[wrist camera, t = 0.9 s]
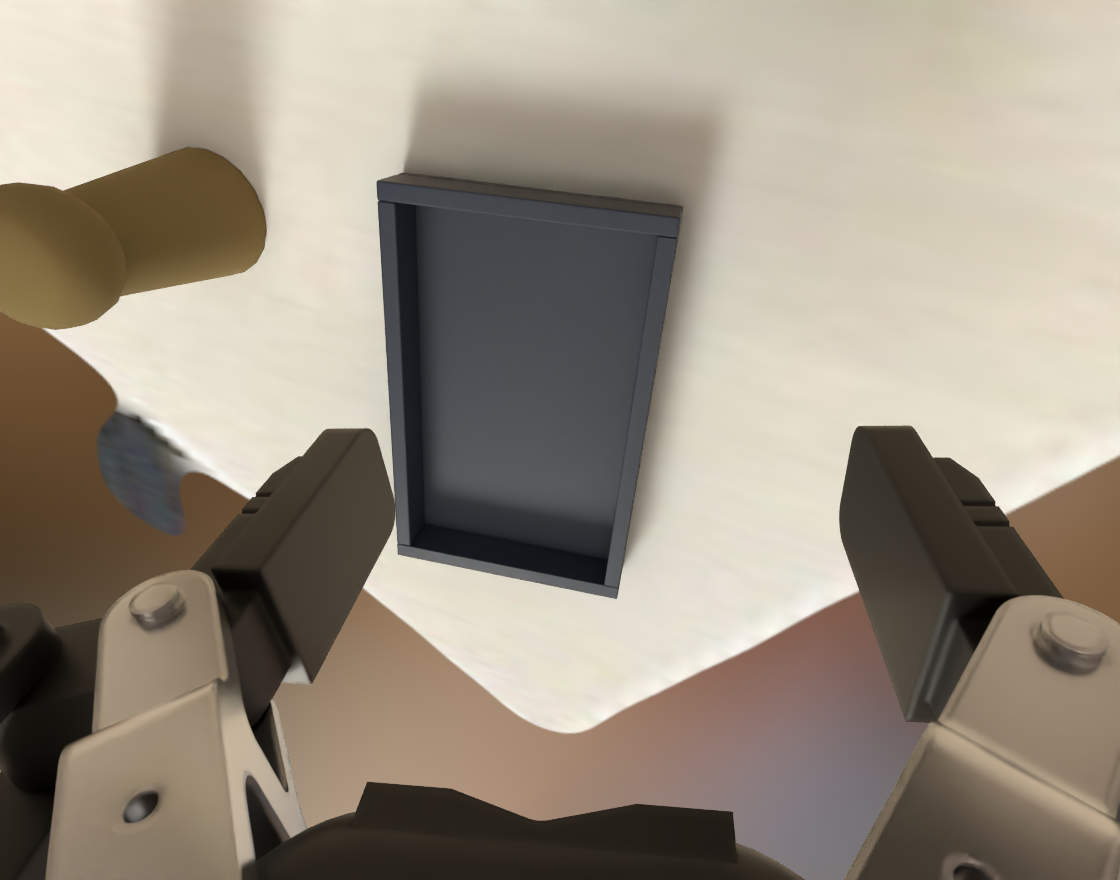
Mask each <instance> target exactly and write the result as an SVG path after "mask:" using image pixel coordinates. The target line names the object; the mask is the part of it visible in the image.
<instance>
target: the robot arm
mask: <svg viewBox="0 0 1120 880" xmlns="http://www.w3.org/2000/svg"><path fill="white" fill-rule="evenodd" d="M394 520H395V502H394V497H393V493H392V490H391V486H390V482H389V479H388V475H387V472H386V468H385V465H384V461H383V458H382V454H381V450H380V447H379V443H378V440H377V437H376V435H375V434H374V432H373V431H372V430H370V429H367V428H366V429H326V430H325V431H323V432H322V433H321V435H320V436H319V437H318V438H317V439H316V441H315V442H314V443H313V444H312V445H311V447H310V448H309V449H308V450H307V452H306V453H305V454H304V455H303V456H298V457H297V458H295V459H294V460H292V461H291V462H289V463H288V464H286V465H285V466H283V467H282V468H280V469H279V470H277V471H276V472H274V473H273V474H272V475H271V476H270V477H269V479H268V480H267V481H266V482H265V483H264V484H263V486H262V487H261V488H260V489H259V490H258V491H257V493H256V497H252V498H251V499H250V501H249V502H248V503H247V504H246V505H245V507H244V508H243V509H242V514H238V515H237V516H236V517H235V518H234V519H233V520H232V522H231V523H230V524H229V525H228V526H227V528H226V529H225V530H224V531H223V532H222V533H221V534H220V536H219V537H218V538H217V539H216V540H215V541H214V543H213V544H212V545H211V546H210V547H209V549H208V550H207V551H206V552H205V553H204V554H203V555H202V557H201V558H200V559H199V560H198V561H197V562H196V564H195V565H194V566H193V567H192V568H191V570H181V571H174V572H170V573H166V574H163V575H159V576H157V577H154V578H152V579H150V580H147V581H145V582H143V583H142V584H139V585H138V586H136V587H134V588H133V589H131V590H130V591H128V592H127V593H126V594H124V595H123V596H122V597H120V598H119V599H118V600H117V601H116V602H115V603H114V604H113V605H112V606H111V607H110V608H109V610H108V611H107V612H106V614H105V615H104V617H103V618H100V619H96V620H90V621H86V622H81V623H76V624H72V625H67V626H63V627H57V628H53V627H52V625H51V624H50V623H49V622H48V620H47V619H46V617H45V616H44V614H43V613H42V612H41V610H40V609H39V608H38V607H37V606H35V605H33V604H29V603H11V604H5V605H1V606H0V770H1V773H0V880H804V879H803V878H802V877H800V876H799V875H797V874H795V873H794V872H793V871H791V870H790V869H788V868H787V867H785V866H783V865H782V864H780V863H779V862H777V861H775V860H773V859H771V858H769V857H767V856H765V855H763V854H762V853H760V852H758V851H756V850H754V849H751V848H748V847H746V846H743V845H740V844H738V843H736V842H735V831H734V821H733V812H729V811H716V810H703V809H692V808H680V807H668V806H655V805H643V804H634V805H629V806H623V807H618V808H613V809H607V810H602V811H596V812H591V813H585V814H580V815H575V816H569V817H564V818H558V819H553V820H547V821H536V820H532V819H528V818H526V817H523V816H520V815H518V814H515V813H513V812H510V811H507V810H505V809H502V808H500V807H497V806H495V805H492V804H489V803H487V802H484V801H482V800H479V799H476V798H474V797H471V796H469V795H466V794H464V793H461V792H458V791H456V790H453V789H448V788H436V787H424V786H411V785H399V784H387V783H375V782H367V784H366V787H365V789H364V792H363V795H362V797H361V800H360V802H359V805H358V807H357V810H356V812H353V813H348V814H345V815H342V816H339V817H336V818H333V819H330V820H326V821H324V822H322V823H320V824H317V825H315V826H313V827H310V828H308V829H307V827H306V824H305V821H304V819H303V815H302V812H301V809H300V805H299V801H298V796H297V792H296V787H295V783H294V778H293V774H292V769H291V765H290V760H289V756H288V751H287V747H286V743H285V738H284V734H283V729H282V725H281V720H280V716H279V711H278V708H277V706H276V704H275V702H274V700H273V696H274V694H275V692H276V691H277V689H278V688H279V686H280V684H281V683H299V684H312V683H313V681H314V679H315V677H316V675H317V673H318V672H319V670H320V668H321V666H322V664H323V662H324V660H325V658H326V656H327V654H328V652H329V650H330V649H331V647H332V645H333V643H334V641H335V639H336V637H337V635H338V633H339V632H340V630H341V627H342V626H343V624H344V622H345V620H346V618H347V616H348V614H349V612H350V610H351V609H352V607H353V605H354V603H355V601H356V599H357V597H358V595H359V593H360V591H361V590H362V588H363V586H364V584H365V582H366V580H367V578H368V576H369V574H370V572H371V571H372V569H373V567H374V565H375V563H376V561H377V559H378V557H379V555H380V553H381V552H382V550H383V548H384V546H385V544H386V542H387V540H388V538H389V536H390V534H391V532H392V529H393V526H394ZM839 522H840V533H841V538H842V542H843V546H844V548H845V551H846V554H847V557H848V560H849V563H850V565H851V568H852V571H853V574H854V577H855V579H856V582H857V585H858V588H859V591H860V593H861V596H862V599H863V602H864V605H865V607H866V610H867V613H868V616H869V619H870V622H871V624H872V627H873V630H874V633H875V636H876V638H877V641H878V644H879V647H880V650H881V653H882V655H883V658H884V661H885V664H886V667H887V670H888V672H889V675H890V678H891V681H892V684H893V686H894V689H895V692H896V695H897V698H898V701H899V703H900V706H901V709H902V712H903V715H904V717H905V720H906V721H908V722H925V723H930V724H929V726H928V727H927V729H926V730H925V732H924V734H923V736H922V738H921V739H920V741H919V743H918V745H917V747H916V748H915V750H914V752H913V754H912V756H911V758H910V759H909V761H908V763H907V765H906V767H905V769H904V770H903V772H902V774H901V776H900V778H899V780H898V781H897V783H896V785H895V787H894V789H893V791H892V792H891V794H890V796H889V798H888V800H887V802H886V803H885V805H884V807H883V809H882V811H881V812H880V814H879V817H878V818H877V820H876V822H875V823H874V825H873V827H872V829H871V831H870V833H869V835H868V836H867V838H866V840H865V842H864V844H863V845H862V848H861V849H860V851H859V853H858V855H857V857H856V858H855V860H854V862H853V864H852V866H851V867H850V869H849V871H848V873H847V875H846V877H845V878H844V880H1117V878H1118V874H1119V870H1120V624H1118V623H1117V622H1115V621H1114V620H1112V619H1111V618H1109V617H1107V616H1105V615H1103V614H1101V613H1100V612H1098V611H1096V610H1094V609H1091V608H1089V607H1086V606H1084V605H1082V604H1079V603H1076V602H1073V601H1070V600H1065V599H1064V598H1063V597H1062V596H1061V594H1060V593H1059V591H1058V590H1057V588H1056V587H1055V586H1054V584H1053V583H1052V581H1051V580H1050V578H1049V577H1048V576H1047V574H1046V573H1045V571H1044V570H1043V569H1042V567H1041V566H1040V565H1039V563H1038V561H1037V560H1036V559H1035V557H1034V556H1033V554H1032V553H1031V552H1030V550H1029V549H1028V547H1027V546H1026V545H1025V543H1024V542H1023V540H1022V539H1021V538H1020V536H1019V535H1018V533H1017V532H1016V530H1015V529H1014V527H1010V526H1009V521H1008V519H1007V518H1006V516H1005V515H1004V513H1003V512H1002V510H1001V509H1000V508H999V507H996V506H995V501H994V499H993V498H992V496H991V495H990V493H989V492H988V491H987V489H986V488H985V486H984V485H983V484H982V482H981V481H980V479H979V478H978V477H976V476H975V475H974V474H972V473H971V472H969V471H968V470H966V469H965V468H963V467H962V466H961V465H959V464H958V463H956V462H955V461H953V460H952V459H951V458H933V457H932V456H931V454H930V453H929V451H928V449H927V448H926V446H925V445H924V443H923V442H922V440H921V438H920V437H919V435H918V434H917V432H916V431H915V429H914V428H913V427H912V426H859V427H857V428H856V430H855V432H854V434H853V438H852V443H851V448H850V454H849V459H848V465H847V470H846V475H845V481H844V486H843V492H842V497H841V503H840V513H839Z"/></svg>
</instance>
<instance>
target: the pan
mask: <svg viewBox="0 0 1120 880" xmlns="http://www.w3.org/2000/svg"><path fill="white" fill-rule="evenodd" d="M377 197H378V200H380V201H378V215H379V232H380V249H381V266H382V284H383V301H384V318H385V336H386V353H387V370H388V387H389V405H390V422H391V439H392V456H393V474H394V491H395V508H396V526H397V542H398V544H397V547H398V555H403V556H407V557H412V558H417V559H422V560H427V561H432V562H437V563H442V564H447V565H452V566H457V567H462V568H467V569H472V570H476V571H481V572H486V573H491V574H496V575H501V576H506V577H511V578H516V579H521V580H526V581H531V582H536V583H541V584H546V585H550V586H555V587H560V588H565V589H570V590H575V591H580V592H585V593H590V594H595V595H600V596H605V597H610V598H615V599H617V596H618V590H619V584H620V579H621V573H622V568H623V562H624V556H625V550H626V544H627V538H628V532H629V526H630V520H631V514H632V508H633V502H634V496H635V490H636V485H637V479H638V473H639V467H640V461H641V455H642V449H643V443H644V437H645V431H646V425H647V419H648V413H649V407H650V402H651V396H652V390H653V384H654V378H655V372H656V366H657V360H658V354H659V348H660V342H661V336H662V330H663V324H664V319H665V313H666V307H667V301H668V295H669V289H670V283H671V277H672V271H673V265H674V259H675V253H676V247H677V241H678V236H679V230H680V224H681V218H682V212H683V206H678V205H669V204H661V203H653V202H644V201H636V200H628V199H619V198H611V197H602V196H594V195H586V194H577V193H569V192H561V191H552V190H544V189H535V188H527V187H519V186H510V185H502V184H494V183H485V182H477V181H468V180H460V179H452V178H443V177H435V176H427V175H418V174H410V173H400V174H398V175H395V176H391V177H388V178H385V179H381V180H378V181H377Z"/></svg>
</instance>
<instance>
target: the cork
mask: <svg viewBox="0 0 1120 880" xmlns="http://www.w3.org/2000/svg"><path fill="white" fill-rule="evenodd" d="M265 237H266V225H265V219H264V213H263V209H262V207H261V204H260V202H259V200H258V197H257V195H256V193H255V190H254V189H253V188H252V186H251V185H250V183H249V182H248V181H247V179H246V178H245V177H244V175H243V174H242V173H241V171H239V170H238V169H237V168H236V167H235V166H233V165H232V164H231V163H230V162H229V161H227V160H226V159H225V158H224V157H222V156H219V155H217V154H215V153H213V152H211V151H209V150H206V149H200V148H190V147H187V148H183V149H180V150H177V151H174V152H171V153H168V154H165V155H163V156H160V157H157V158H154V159H151V160H148V161H146V162H143V163H140V164H137V165H134V166H132V167H129V168H126V169H123V170H120V171H118V172H115V173H112V174H109V175H106V176H103V177H101V178H98V179H95V180H92V181H89V182H87V183H84V184H81V185H78V186H75V187H72V188H70V189H67V190H64V191H62V190H59V189H57V188H55V187H51V186H43V185H35V184H26V183H11V184H3V185H0V311H1V312H2V313H4V314H5V315H6V316H8V317H10V318H12V319H14V320H17V321H19V322H21V323H24V324H26V325H31V326H35V327H41V328H48V329H54V330H57V329H66V328H72V327H77V326H81V325H85V324H87V323H90V322H92V321H95V320H97V319H98V318H99V317H101V316H102V315H103V314H104V313H105V312H107V311H108V310H109V309H110V308H111V307H112V306H114V305H115V304H116V303H117V302H118V300H119V297H120V296H124V295H129V294H135V293H140V292H145V291H150V290H156V289H161V288H166V287H171V286H176V285H182V284H187V283H192V282H197V281H203V280H208V279H213V278H218V277H224V276H229V275H233V274H237V273H241V272H245V271H246V270H247V269H249V268H250V267H251V266H253V265H254V264H255V263H256V262H257V260H258V258H259V257H260V255H261V253H262V251H263V249H264V244H265Z"/></svg>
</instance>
